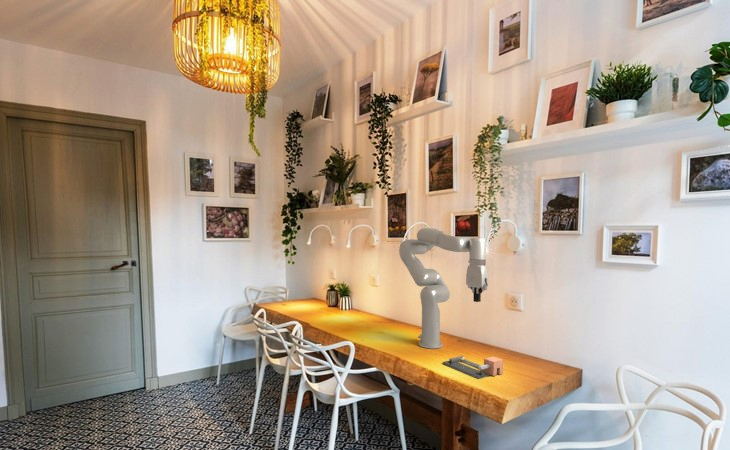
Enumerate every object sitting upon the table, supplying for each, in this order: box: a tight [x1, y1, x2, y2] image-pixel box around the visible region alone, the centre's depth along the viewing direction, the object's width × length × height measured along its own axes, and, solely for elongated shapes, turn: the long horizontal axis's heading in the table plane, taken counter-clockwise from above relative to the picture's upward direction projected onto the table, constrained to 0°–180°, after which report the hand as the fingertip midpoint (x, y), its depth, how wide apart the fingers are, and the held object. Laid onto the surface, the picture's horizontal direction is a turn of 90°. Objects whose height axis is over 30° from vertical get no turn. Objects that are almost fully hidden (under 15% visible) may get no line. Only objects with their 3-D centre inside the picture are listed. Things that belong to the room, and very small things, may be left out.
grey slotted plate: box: [448, 355, 484, 371], centre depth 167 cm, size 21×9×2 cm, turn 32°
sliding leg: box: [478, 356, 504, 377], centre depth 160 cm, size 5×12×6 cm, turn 122°
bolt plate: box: [442, 360, 489, 380], centre depth 165 cm, size 21×6×1 cm, turn 32°
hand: (477, 301), depth 181 cm, fingers closed
